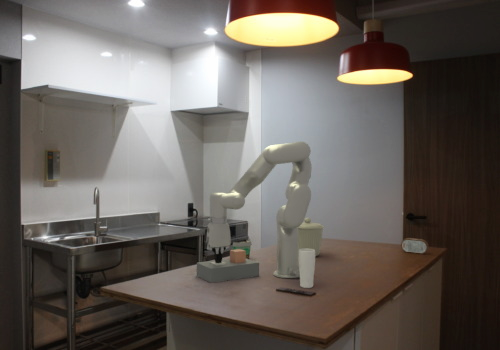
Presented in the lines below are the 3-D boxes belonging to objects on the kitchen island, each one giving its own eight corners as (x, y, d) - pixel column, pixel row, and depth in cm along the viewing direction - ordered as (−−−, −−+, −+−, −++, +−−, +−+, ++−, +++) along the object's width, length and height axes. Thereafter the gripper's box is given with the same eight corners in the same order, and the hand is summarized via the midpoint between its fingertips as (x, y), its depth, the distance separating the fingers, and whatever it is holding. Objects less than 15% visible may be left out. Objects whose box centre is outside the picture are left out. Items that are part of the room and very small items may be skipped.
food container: (241, 263, 227) (241, 243, 227) (232, 261, 230) (232, 242, 230) (256, 259, 236) (256, 240, 236) (247, 257, 240) (247, 239, 240)
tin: (428, 254, 255) (429, 239, 254) (427, 255, 252) (427, 240, 252) (401, 251, 263) (401, 237, 262) (400, 252, 260) (400, 237, 260)
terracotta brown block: (245, 263, 200) (245, 250, 200) (235, 264, 198) (235, 251, 198) (239, 261, 205) (239, 249, 205) (229, 262, 202) (229, 250, 202)
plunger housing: (259, 276, 199) (259, 262, 199) (210, 282, 186) (210, 268, 186) (243, 270, 211) (243, 257, 211) (196, 276, 198) (196, 262, 198)
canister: (330, 256, 245) (331, 218, 245) (305, 260, 235) (306, 220, 235) (308, 251, 260) (308, 215, 260) (284, 254, 250) (284, 217, 250)
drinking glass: (310, 289, 177) (311, 252, 176) (295, 287, 180) (295, 250, 180) (317, 286, 182) (318, 249, 182) (302, 283, 186) (302, 247, 186)
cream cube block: (225, 275, 195) (226, 263, 195) (215, 277, 193) (215, 264, 192) (220, 273, 200) (220, 261, 200) (210, 274, 197) (210, 262, 197)
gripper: (206, 222, 189) (206, 265, 189) (237, 220, 197) (237, 262, 197) (199, 220, 195) (199, 262, 195) (229, 218, 203) (229, 259, 203)
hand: (218, 262), depth 196 cm, fingers closed
